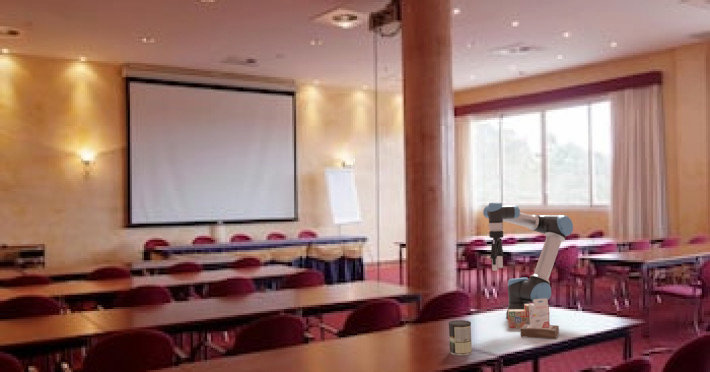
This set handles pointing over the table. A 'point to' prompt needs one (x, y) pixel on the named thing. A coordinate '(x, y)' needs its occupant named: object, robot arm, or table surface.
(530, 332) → the walnut plinth
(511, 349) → the table surface
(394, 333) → the table surface
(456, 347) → the coffee can
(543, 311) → the ink cartridge box
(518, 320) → the stack of blocks
